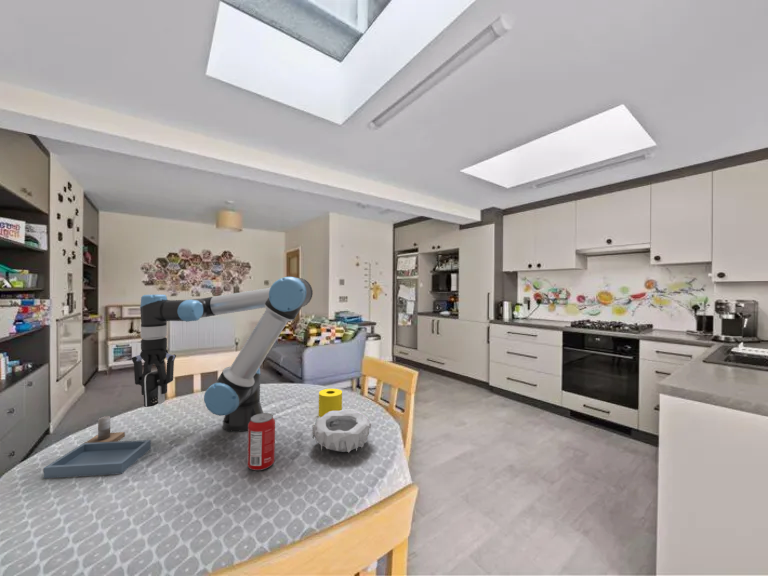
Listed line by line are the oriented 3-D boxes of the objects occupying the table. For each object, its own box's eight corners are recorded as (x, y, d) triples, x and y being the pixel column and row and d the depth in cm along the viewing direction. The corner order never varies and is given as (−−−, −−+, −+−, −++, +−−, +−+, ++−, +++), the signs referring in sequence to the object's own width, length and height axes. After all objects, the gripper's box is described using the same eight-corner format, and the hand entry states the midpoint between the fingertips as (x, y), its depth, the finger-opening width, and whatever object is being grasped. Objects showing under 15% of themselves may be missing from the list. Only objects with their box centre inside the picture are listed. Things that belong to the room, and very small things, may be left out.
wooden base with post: (124, 436, 113) (124, 412, 113) (108, 447, 105) (108, 422, 105) (100, 437, 112) (100, 413, 112) (81, 449, 104) (82, 423, 104)
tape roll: (346, 412, 138) (346, 391, 138) (331, 420, 129) (331, 398, 129) (329, 407, 143) (329, 387, 143) (313, 415, 135) (313, 393, 135)
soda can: (248, 475, 92) (249, 424, 91) (246, 461, 99) (247, 414, 98) (276, 468, 95) (277, 419, 95) (272, 456, 102) (273, 410, 102)
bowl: (381, 440, 114) (382, 412, 114) (353, 469, 95) (353, 437, 95) (333, 428, 123) (334, 402, 123) (299, 453, 104) (299, 423, 104)
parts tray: (150, 448, 105) (150, 439, 105) (121, 473, 91) (121, 463, 91) (83, 452, 103) (83, 443, 102) (43, 478, 89) (43, 467, 89)
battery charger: (155, 407, 109) (153, 374, 108) (143, 408, 108) (141, 375, 108) (166, 400, 115) (165, 369, 115) (155, 400, 115) (153, 369, 115)
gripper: (184, 335, 116) (185, 398, 117) (134, 336, 114) (135, 400, 114) (174, 339, 109) (174, 405, 109) (120, 340, 107) (121, 408, 107)
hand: (154, 403), depth 112 cm, fingers closed on battery charger, 4 cm apart
